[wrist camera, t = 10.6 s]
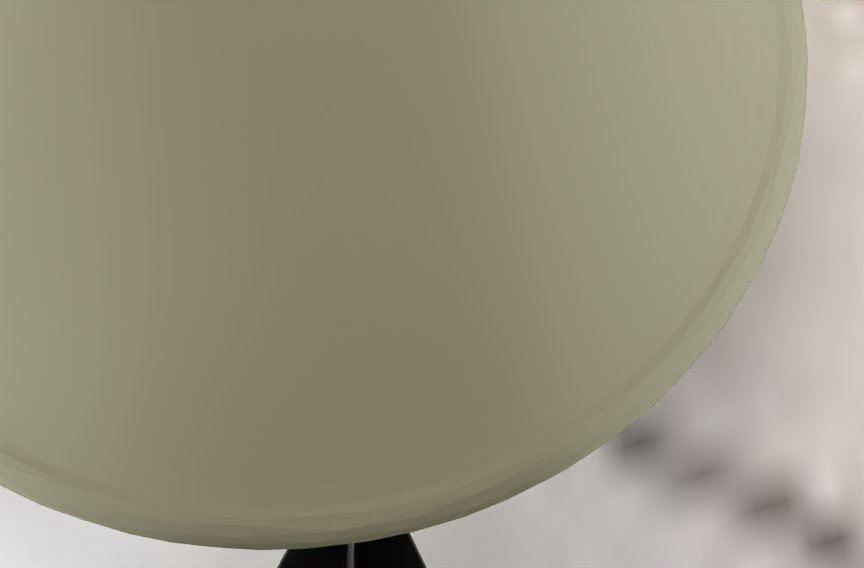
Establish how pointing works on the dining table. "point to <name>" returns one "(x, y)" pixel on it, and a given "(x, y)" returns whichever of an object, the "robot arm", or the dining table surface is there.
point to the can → (367, 246)
